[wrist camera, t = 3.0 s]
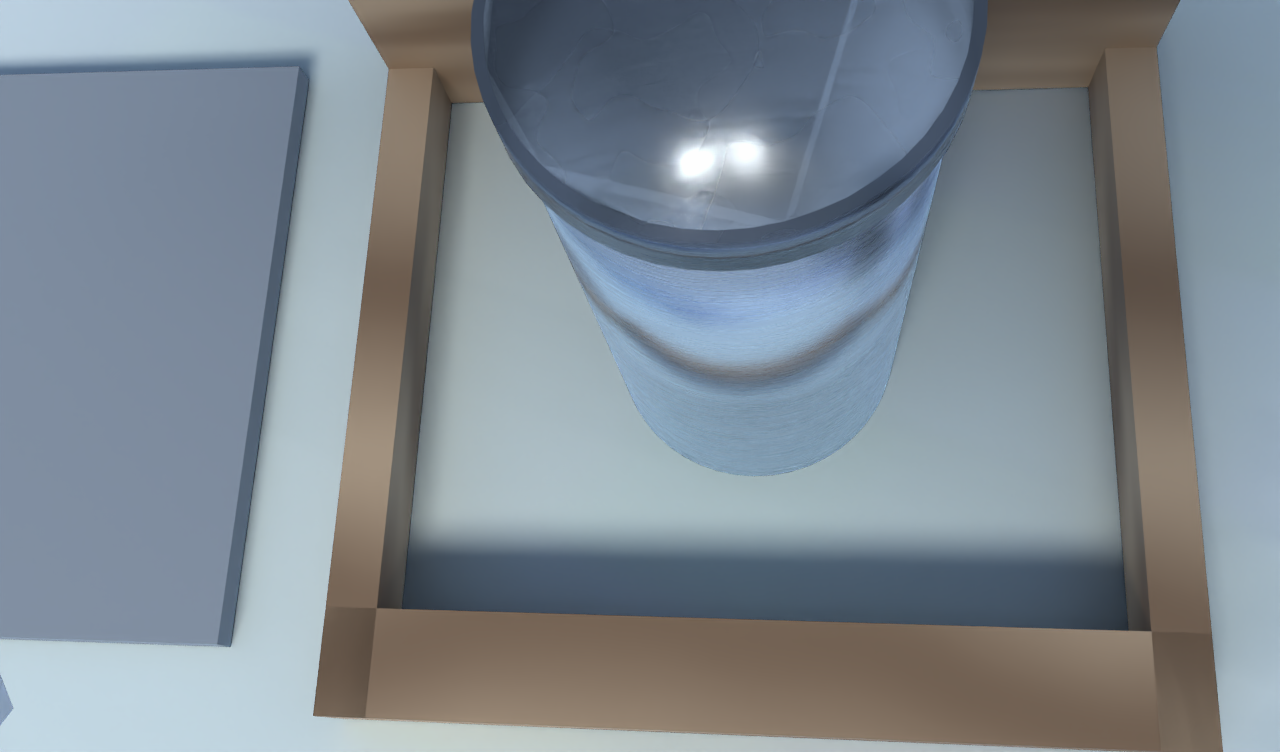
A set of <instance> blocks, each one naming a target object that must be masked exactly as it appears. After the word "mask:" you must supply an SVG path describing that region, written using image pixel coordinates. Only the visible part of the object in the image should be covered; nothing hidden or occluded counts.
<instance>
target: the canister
mask: <svg viewBox="0 0 1280 752" xmlns="http://www.w3.org/2000/svg"><path fill="white" fill-rule="evenodd" d="M987 11H988V0H474V1H473V7H472V13H471V49H472V57H473V65H474V72H475V75H476V79H477V82H478V86H479V89H480V93H481V96H482V99H483V102H484V104H485V106H486V108H487V110H488V113H489V115H490V117H491V119H492V121H493V124H494V126H495V128H496V130H497V132H498V134H499V136H500V138H501V140H502V143H503V145H504V147H505V149H506V151H507V153H508V155H509V157H510V159H511V161H512V162H513V164H514V165H515V167H516V168H517V170H518V171H519V173H520V174H521V176H522V177H523V179H524V181H525V182H526V183H527V184H528V186H529V187H530V188H531V189H532V190H533V191H534V192H535V194H536V195H537V196H538V197H539V198H540V199H541V200H542V201H543V203H544V205H545V207H546V209H547V211H548V213H549V216H550V218H551V220H552V222H553V224H554V227H555V229H556V231H557V233H558V236H559V238H560V240H561V242H562V244H563V247H564V249H565V251H566V253H567V255H568V258H569V260H570V262H571V264H572V266H573V269H574V271H575V273H576V275H577V277H578V280H579V282H580V284H581V286H582V288H583V291H584V293H585V295H586V297H587V300H588V302H589V304H590V306H591V308H592V311H593V313H594V315H595V317H596V319H597V322H598V324H599V326H600V328H601V330H602V333H603V335H604V337H605V339H606V341H607V344H608V346H609V348H610V350H611V353H612V355H613V357H614V359H615V361H616V364H617V366H618V368H619V370H620V372H621V375H622V377H623V379H624V381H625V383H626V386H627V388H628V390H629V392H630V394H631V397H632V399H633V401H634V403H635V405H636V407H637V409H638V411H639V412H640V414H641V415H642V417H643V419H644V420H645V422H646V423H647V424H648V425H649V427H650V428H651V429H652V430H653V431H654V432H655V434H656V435H657V436H658V437H659V438H660V439H662V440H663V441H664V442H665V443H666V444H667V445H668V446H669V447H671V448H672V449H674V450H675V451H677V452H678V453H679V454H681V455H682V456H684V457H686V458H688V459H690V460H692V461H694V462H696V463H698V464H700V465H702V466H705V467H708V468H711V469H713V470H716V471H720V472H725V473H730V474H734V475H745V476H767V475H776V474H782V473H787V472H792V471H795V470H798V469H801V468H804V467H808V466H810V465H812V464H814V463H816V462H818V461H821V460H823V459H825V458H826V457H828V456H829V455H831V454H833V453H834V452H836V451H837V450H839V449H840V448H841V447H843V446H844V445H845V444H846V443H847V442H849V441H850V440H851V439H852V438H853V437H854V436H855V435H856V434H857V433H858V432H859V431H860V430H861V429H862V428H863V426H864V425H865V424H866V423H867V421H868V420H869V418H870V417H871V416H872V414H873V413H874V411H875V410H876V408H877V406H878V404H879V402H880V400H881V398H882V396H883V394H884V391H885V388H886V385H887V382H888V379H889V376H890V372H891V368H892V363H893V359H894V355H895V351H896V347H897V343H898V339H899V335H900V331H901V326H902V322H903V318H904V314H905V310H906V306H907V302H908V298H909V293H910V289H911V285H912V281H913V277H914V273H915V269H916V265H917V261H918V256H919V252H920V248H921V244H922V240H923V236H924V232H925V228H926V223H927V219H928V215H929V211H930V207H931V203H932V199H933V195H934V191H935V186H936V182H937V178H938V174H939V170H940V166H941V162H942V158H943V156H944V154H945V153H946V151H947V150H948V148H949V146H950V144H951V142H952V140H953V138H954V136H955V134H956V133H957V131H958V129H959V127H960V125H961V123H962V120H963V117H964V114H965V111H966V109H967V106H968V103H969V100H970V97H971V94H972V90H973V87H974V83H975V79H976V75H977V71H978V68H979V64H980V60H981V56H982V51H983V45H984V40H985V35H986V29H987Z"/></svg>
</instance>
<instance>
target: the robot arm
mask: <svg viewBox="0 0 1280 752" xmlns="http://www.w3.org/2000/svg"><path fill="white" fill-rule="evenodd" d="M12 709H13V706H12V703H11V701H10V698H9V696H8V693H7V691H6V688H5V685H4V683H3V680H2V678H1V675H0V725H1V724H2V722H3V721H4V720H5V718H6V717H7V716H8V715H9V713H10V712H11V711H12Z"/></svg>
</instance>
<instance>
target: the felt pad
mask: <svg viewBox="0 0 1280 752" xmlns="http://www.w3.org/2000/svg"><path fill="white" fill-rule="evenodd" d="M308 84H309V79H308V78H307V77H306V75H305V74H304V72H303V71H302V70H301V68H300V67H299V66H290V67H255V68H221V69H187V70H153V71H119V72H84V73H50V74H16V75H0V639H17V640H46V641H74V642H103V643H132V644H161V645H190V646H219V647H230V646H231V639H232V632H233V625H234V618H235V610H236V603H237V596H238V589H239V581H240V574H241V567H242V560H243V553H244V545H245V538H246V531H247V524H248V517H249V509H250V502H251V495H252V488H253V480H254V473H255V466H256V459H257V452H258V444H259V437H260V430H261V423H262V415H263V408H264V401H265V394H266V387H267V379H268V372H269V365H270V358H271V351H272V343H273V336H274V329H275V322H276V314H277V307H278V300H279V293H280V286H281V278H282V271H283V264H284V257H285V250H286V242H287V235H288V228H289V221H290V213H291V206H292V199H293V192H294V185H295V177H296V170H297V163H298V156H299V149H300V141H301V134H302V127H303V120H304V112H305V105H306V98H307V91H308Z"/></svg>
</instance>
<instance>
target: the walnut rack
mask: <svg viewBox="0 0 1280 752" xmlns="http://www.w3.org/2000/svg"><path fill="white" fill-rule="evenodd" d="M348 1H349V2H350V4H351V6H352V7H353V9H354V11H355V12H356V14H357V16H358V18H359V19H360V21H361V23H362V24H363V26H364V28H365V29H366V31H367V33H368V35H369V36H370V38H371V40H372V41H373V43H374V45H375V46H376V48H377V50H378V51H379V53H380V55H381V57H382V58H383V60H384V62H385V63H386V65H387V67H388V68H389V72H388V81H387V89H386V98H385V106H384V115H383V123H382V132H381V140H380V149H379V157H378V166H377V174H376V183H375V192H374V200H373V209H372V217H371V226H370V234H369V243H368V251H367V260H366V268H365V277H364V285H363V294H362V303H361V311H360V320H359V328H358V337H357V345H356V354H355V362H354V371H353V379H352V388H351V397H350V405H349V414H348V422H347V431H346V439H345V448H344V456H343V465H342V473H341V482H340V490H339V499H338V508H337V516H336V525H335V533H334V542H333V550H332V559H331V567H330V576H329V584H328V593H327V601H326V610H325V619H324V627H323V636H322V644H321V653H320V661H319V670H318V678H317V687H316V695H315V704H314V713H313V716H320V717H331V718H342V719H366V720H389V721H413V722H437V723H461V724H484V725H508V726H532V727H556V728H579V729H603V730H627V731H651V732H674V733H698V734H722V735H746V736H769V737H793V738H817V739H841V740H864V741H888V742H912V743H936V744H959V745H983V746H1007V747H1031V748H1054V749H1078V750H1102V751H1126V752H1223V747H1222V736H1221V726H1220V715H1219V705H1218V694H1217V683H1216V673H1215V662H1214V651H1213V641H1212V630H1211V620H1210V609H1209V598H1208V588H1207V577H1206V567H1205V556H1204V545H1203V535H1202V524H1201V513H1200V503H1199V492H1198V482H1197V471H1196V460H1195V450H1194V439H1193V428H1192V418H1191V407H1190V397H1189V386H1188V375H1187V365H1186V354H1185V343H1184V333H1183V322H1182V312H1181V301H1180V290H1179V280H1178V269H1177V258H1176V248H1175V237H1174V227H1173V216H1172V205H1171V195H1170V184H1169V173H1168V163H1167V152H1166V142H1165V131H1164V120H1163V110H1162V99H1161V88H1160V78H1159V67H1158V57H1157V45H1158V43H1159V41H1160V39H1161V37H1162V35H1163V33H1164V31H1165V29H1166V28H1167V26H1168V24H1169V22H1170V20H1171V18H1172V16H1173V14H1174V12H1175V10H1176V8H1177V6H1178V4H1179V2H1180V0H988V11H987V29H986V35H985V40H984V45H983V51H982V56H981V60H980V64H979V68H978V71H977V75H976V79H975V83H974V87H973V90H997V89H1037V88H1078V87H1088V93H1089V106H1090V120H1091V133H1092V147H1093V160H1094V174H1095V187H1096V200H1097V214H1098V227H1099V241H1100V254H1101V268H1102V281H1103V295H1104V308H1105V321H1106V335H1107V348H1108V362H1109V375H1110V389H1111V402H1112V416H1113V429H1114V442H1115V456H1116V469H1117V483H1118V496H1119V510H1120V523H1121V537H1122V550H1123V563H1124V577H1125V590H1126V604H1127V617H1128V631H1120V630H1086V629H1053V628H1019V627H986V626H953V625H919V624H886V623H852V622H819V621H786V620H752V619H719V618H686V617H652V616H619V615H585V614H552V613H519V612H485V611H452V610H418V609H402V602H403V591H404V581H405V571H406V561H407V551H408V541H409V531H410V521H411V511H412V500H413V490H414V480H415V470H416V460H417V450H418V440H419V430H420V420H421V409H422V399H423V389H424V379H425V369H426V359H427V349H428V339H429V329H430V318H431V308H432V298H433V288H434V278H435V268H436V258H437V248H438V238H439V227H440V217H441V207H442V197H443V187H444V177H445V167H446V157H447V146H448V136H449V126H450V116H451V106H452V103H473V102H483V99H482V96H481V93H480V89H479V86H478V82H477V79H476V75H475V72H474V65H473V57H472V49H471V13H472V7H473V1H474V0H348Z"/></svg>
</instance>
